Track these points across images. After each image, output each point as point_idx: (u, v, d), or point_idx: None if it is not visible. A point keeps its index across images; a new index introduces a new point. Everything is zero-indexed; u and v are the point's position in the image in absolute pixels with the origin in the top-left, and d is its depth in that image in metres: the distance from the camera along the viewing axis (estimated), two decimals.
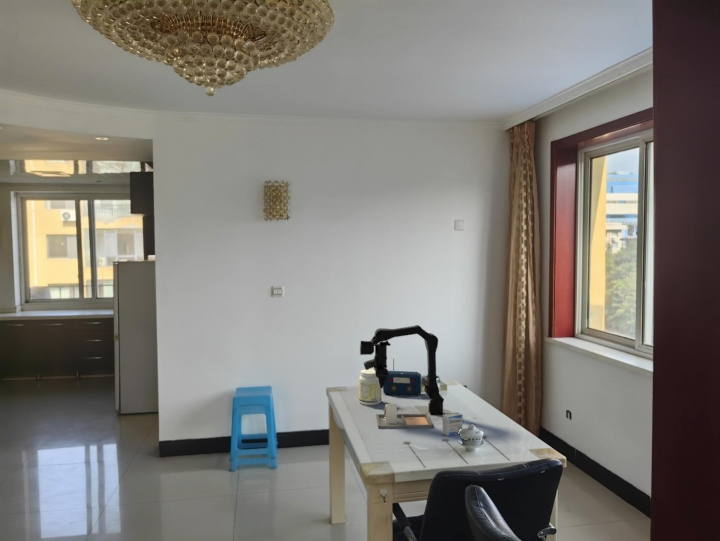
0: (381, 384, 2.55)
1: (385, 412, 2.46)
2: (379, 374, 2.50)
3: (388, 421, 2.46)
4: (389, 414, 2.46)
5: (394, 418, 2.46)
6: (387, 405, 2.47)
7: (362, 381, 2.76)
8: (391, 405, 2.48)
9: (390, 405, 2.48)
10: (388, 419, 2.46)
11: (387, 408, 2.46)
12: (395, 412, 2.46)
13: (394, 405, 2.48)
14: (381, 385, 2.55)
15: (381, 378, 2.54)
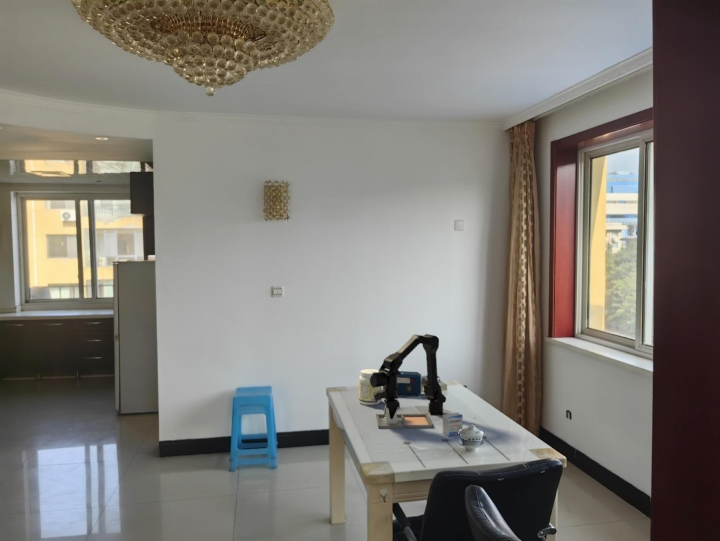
0: (391, 415, 2.45)
1: (385, 412, 2.46)
2: (390, 406, 2.38)
3: (388, 421, 2.46)
4: (389, 414, 2.46)
5: (394, 418, 2.46)
6: None
7: (362, 381, 2.76)
8: None
9: None
10: (388, 419, 2.46)
11: (387, 408, 2.46)
12: (395, 412, 2.46)
13: None
14: (391, 416, 2.45)
15: (391, 408, 2.44)
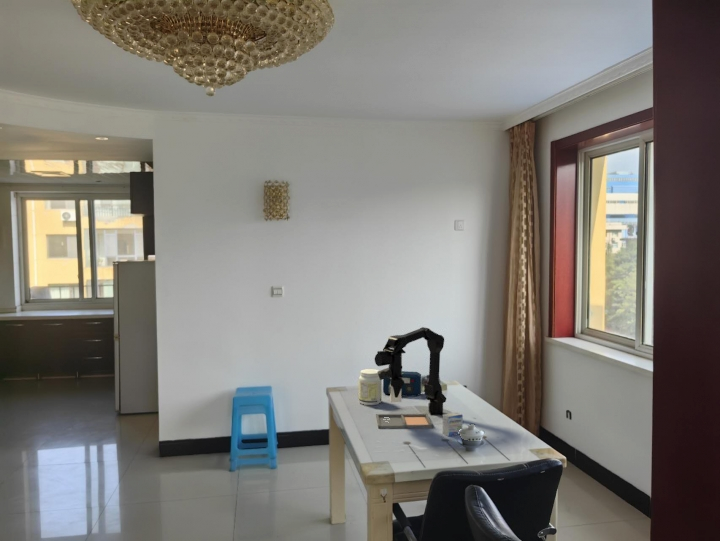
0: (396, 393, 2.45)
1: (390, 391, 2.46)
2: (394, 384, 2.38)
3: (393, 399, 2.46)
4: None
5: (398, 396, 2.46)
6: None
7: (362, 381, 2.76)
8: None
9: None
10: (393, 398, 2.46)
11: (392, 387, 2.45)
12: (400, 391, 2.46)
13: None
14: (396, 394, 2.45)
15: (396, 387, 2.44)
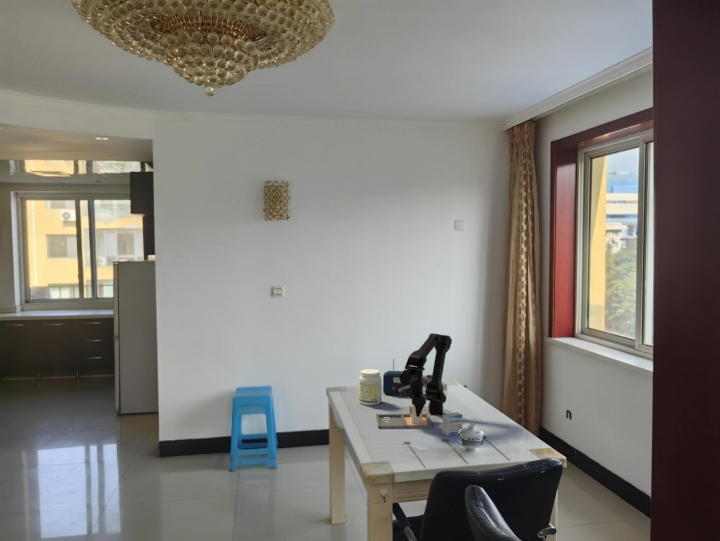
0: (418, 412, 2.43)
1: (411, 411, 2.47)
2: (416, 402, 2.39)
3: (414, 420, 2.46)
4: (415, 413, 2.46)
5: (419, 417, 2.46)
6: (412, 404, 2.48)
7: (362, 381, 2.76)
8: None
9: None
10: (414, 418, 2.46)
11: (413, 407, 2.46)
12: (421, 411, 2.46)
13: None
14: (417, 413, 2.43)
15: (418, 406, 2.42)
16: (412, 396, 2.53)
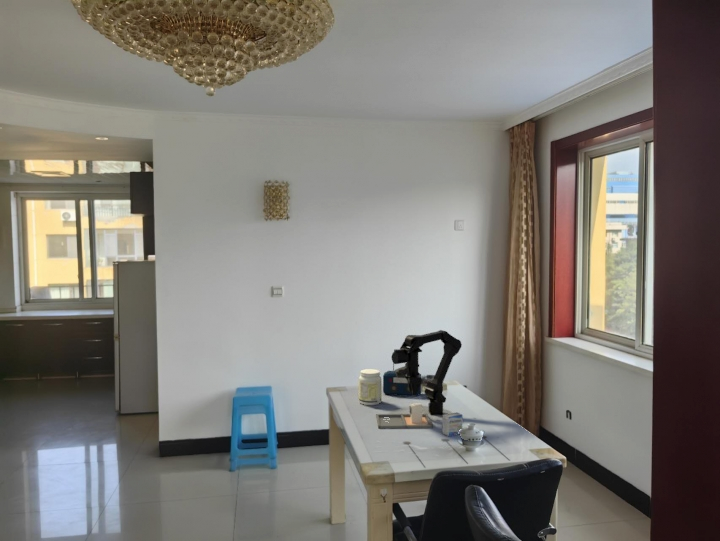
0: (414, 392, 2.50)
1: (411, 411, 2.47)
2: (413, 382, 2.46)
3: (414, 420, 2.46)
4: (415, 413, 2.46)
5: (419, 417, 2.46)
6: (412, 404, 2.48)
7: (362, 381, 2.76)
8: (416, 404, 2.48)
9: (415, 404, 2.48)
10: (414, 418, 2.46)
11: (413, 407, 2.46)
12: (421, 411, 2.46)
13: (419, 404, 2.48)
14: (414, 393, 2.50)
15: (414, 386, 2.49)
16: (408, 377, 2.60)
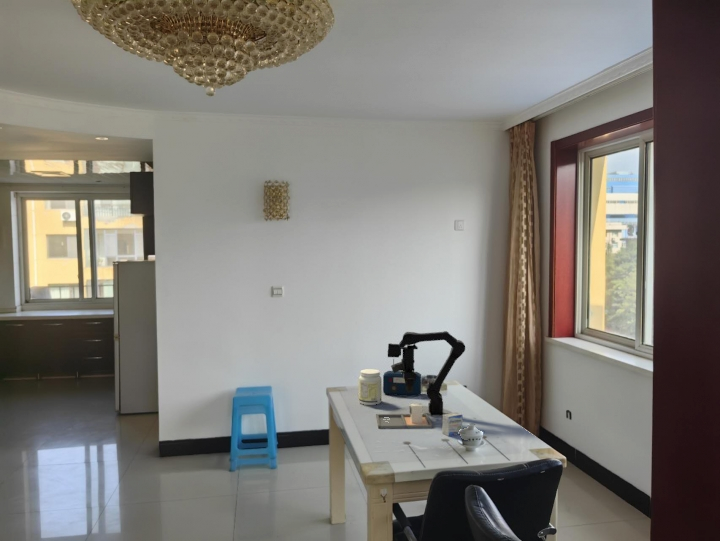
0: (409, 387, 2.58)
1: (411, 411, 2.47)
2: (407, 377, 2.54)
3: (414, 420, 2.46)
4: (415, 413, 2.46)
5: (419, 417, 2.46)
6: (412, 404, 2.48)
7: (362, 381, 2.76)
8: (416, 404, 2.48)
9: (415, 404, 2.48)
10: (414, 418, 2.46)
11: (413, 407, 2.46)
12: (421, 411, 2.46)
13: (419, 404, 2.48)
14: (409, 388, 2.59)
15: (409, 381, 2.58)
16: None
